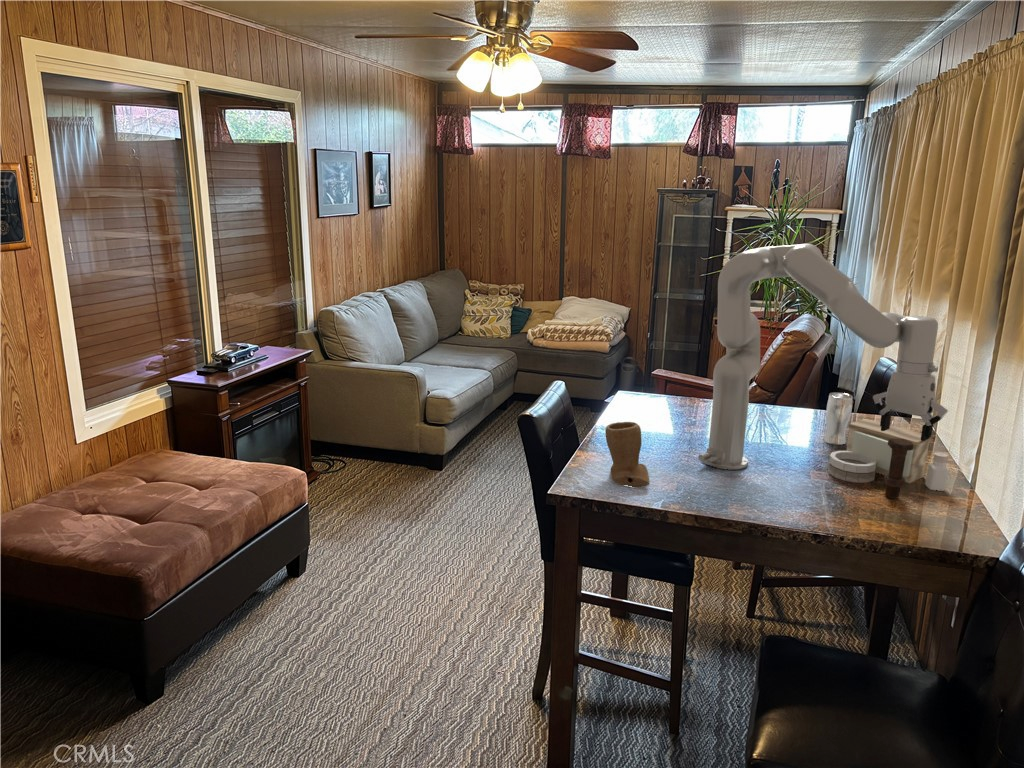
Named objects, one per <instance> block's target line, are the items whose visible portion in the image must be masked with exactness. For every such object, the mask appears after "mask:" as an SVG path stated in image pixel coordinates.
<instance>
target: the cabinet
mask: <svg viewBox="0 0 1024 768" xmlns="http://www.w3.org/2000/svg"><path fill="white" fill-rule="evenodd" d="M880 422H881V421H880ZM880 422H879V421H875V420H872V419H868V418H862V419H860V420H859V419H858V420H856V421H853V422H851V423H848V427H849V433H848V439H847V445H846V451H851V450H852V443H853V437H854V431H859V432H862V433H865V434H868V435H871V436H874V437H877V438H880V439H883V440H887V441H888V440H889V439H892V438H900V439H906V440H909V441H911V442H912V443H913V445H914V446H913V449H914V450H913V456H912V461H911V467H910V473H909V476H908V477H905V476H902V477H904V478H905V483H907V484H911V483H913V482H915V481H917V480H919V479H921V478H924V475H925V474H924V473H925V469H926V468H925V467H926V463H927V457H928V453H929V445H930V440H932V439H933V435H931V437H930V438H929V439H928V440H925V441H921V434H922V432H919V431H914V430H911V429H907V428H902V427H899V426H894V425H891V424H890V428H889V429H888V430H885V431H881V426H880ZM839 460H842V461H844V462H848V463H853V464H866V463H863V462H861V461H857V460H851V459H839ZM827 472H828V474H829V475H830V474H831V476H832V477H833V476H834V477H833V478H835V479H838V480H842V481H843V482H851V483H858V484H862V483H863V484H864V483H870V482H872V481H875V477H876V474H878V473H879V474H878V475H881V474H882V475H881V476H884V475H887V474H889V471H888V470H886V469H883V468H880V467H877V466H876V468H875V471H873V472H869V473H855V472H849V471H844V470H841V469H839V468H836V467H834V466H832V465H831V464H830V463H829V462H828V471H827ZM875 472H876V473H875Z"/></svg>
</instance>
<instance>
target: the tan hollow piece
mask: <svg viewBox="0 0 1024 768" xmlns="http://www.w3.org/2000/svg"><path fill="white" fill-rule="evenodd" d="M605 441H606V444H607V447H608V450H609V453H610V457H611V461H612V465H611V467H610V475H611V480H612V481H613V482H614V483H616V484H618V485H620V486H622V485H628V486H632V487H638V488H643V487H646V486H649V485H650V476H649V470H648V468H647V466H646V465H645V464H644V463H640V462H639V460H640V453H641V448H642V444H643V443H642V441H643V440H642V428H641V426H640V425H639V424H638V423H637V422H634V421H623V422H620V421H618V422H612V423H609V424H608V425H607V426H606V427H605Z"/></svg>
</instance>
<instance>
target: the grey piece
mask: <svg viewBox="0 0 1024 768" xmlns="http://www.w3.org/2000/svg"><path fill="white" fill-rule="evenodd" d="M913 450H914V449H913ZM913 450H908V451H907V455H906V458H905V463H904V471H903V476H905V477H908V476H909V473H910V467H911V461H912V456H913ZM891 455H892V448H890V446H889V445H888V441H887V440H883V439H880V438H877V437H874V436H871V435H868V434H865V433H862V432H859V431H854V437H853V443H852V450H851V451H847V450H835V451H831V453H830V455H829V461H828V464H829V463H830V464H831V465H832V466H834V467H836V468H839V469H841V470H844V471H849V472H855V473H869V472H873V471H875V468H876V466H877V467H880V468H883V469H886V470H888V471H889V467H890V461H891ZM839 459H851V460H857V461H861V462H863V463H866V464H853V463H848V462H844V461H842V460H839Z"/></svg>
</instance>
